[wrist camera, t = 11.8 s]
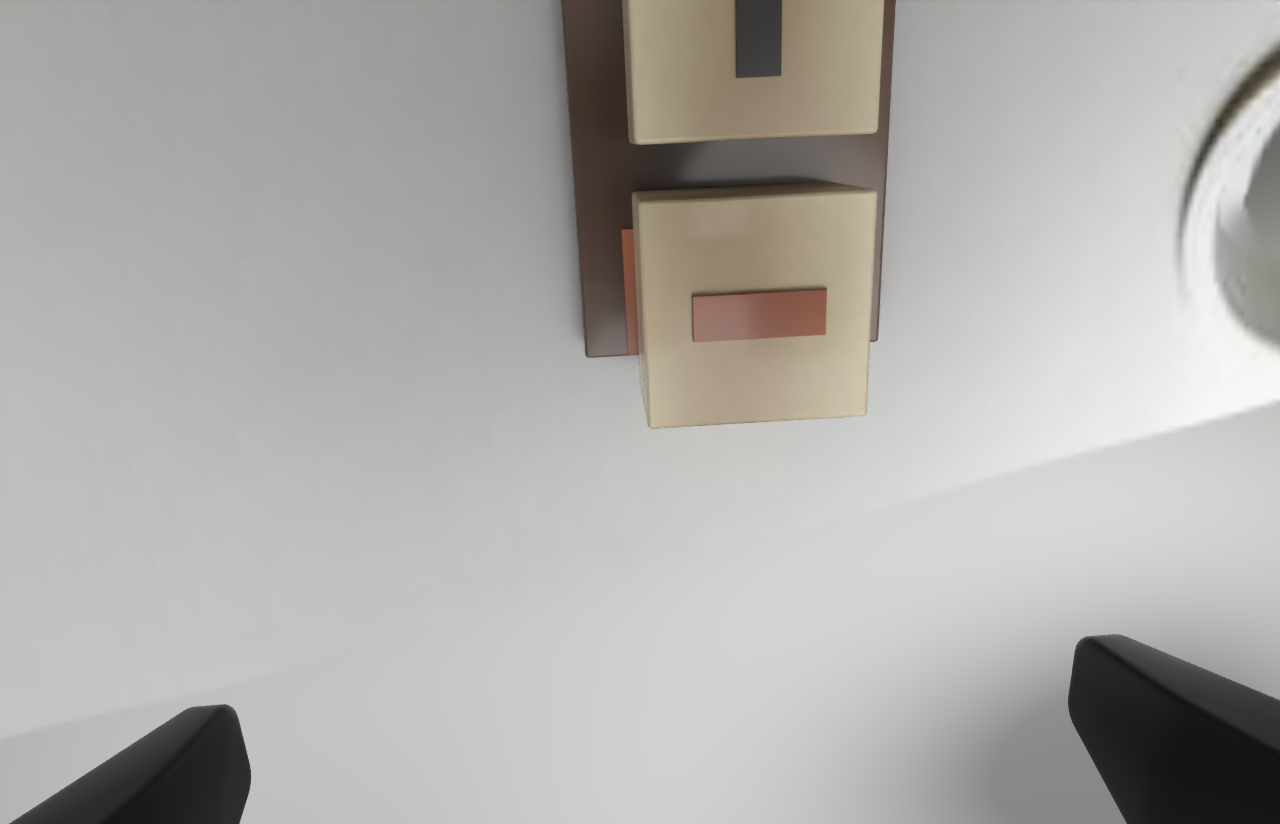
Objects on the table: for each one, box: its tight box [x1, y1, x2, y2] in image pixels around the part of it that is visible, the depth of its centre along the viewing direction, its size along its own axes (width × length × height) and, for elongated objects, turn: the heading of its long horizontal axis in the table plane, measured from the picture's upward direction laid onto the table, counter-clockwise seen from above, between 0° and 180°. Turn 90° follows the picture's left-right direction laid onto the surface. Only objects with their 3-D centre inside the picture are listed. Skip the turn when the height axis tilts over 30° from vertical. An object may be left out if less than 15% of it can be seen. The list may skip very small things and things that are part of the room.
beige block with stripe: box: [632, 182, 877, 429], centre depth 17 cm, size 4×4×3 cm
